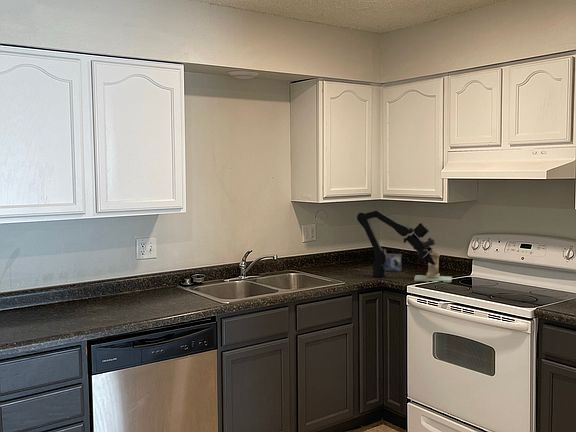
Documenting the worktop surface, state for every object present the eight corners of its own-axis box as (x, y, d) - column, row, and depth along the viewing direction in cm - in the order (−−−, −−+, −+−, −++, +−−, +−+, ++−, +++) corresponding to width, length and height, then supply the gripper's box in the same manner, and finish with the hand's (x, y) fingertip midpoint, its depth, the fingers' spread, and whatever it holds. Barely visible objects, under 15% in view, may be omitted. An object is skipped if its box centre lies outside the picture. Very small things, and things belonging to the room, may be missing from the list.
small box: (383, 271, 366) (383, 254, 366) (384, 269, 373) (384, 253, 372) (401, 272, 364) (401, 255, 363) (401, 270, 370) (402, 253, 370)
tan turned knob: (429, 276, 334) (429, 253, 333) (424, 274, 341) (425, 252, 340) (441, 276, 334) (442, 253, 333) (437, 274, 341) (437, 251, 341)
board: (414, 280, 335) (414, 278, 334) (415, 277, 346) (415, 275, 346) (451, 282, 329) (451, 280, 329) (451, 278, 341) (451, 276, 341)
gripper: (424, 235, 329) (444, 256, 325) (429, 232, 346) (448, 252, 343) (409, 248, 332) (429, 269, 329) (415, 245, 349) (434, 265, 346)
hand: (435, 263), depth 337 cm, fingers closed on tan turned knob, 6 cm apart
